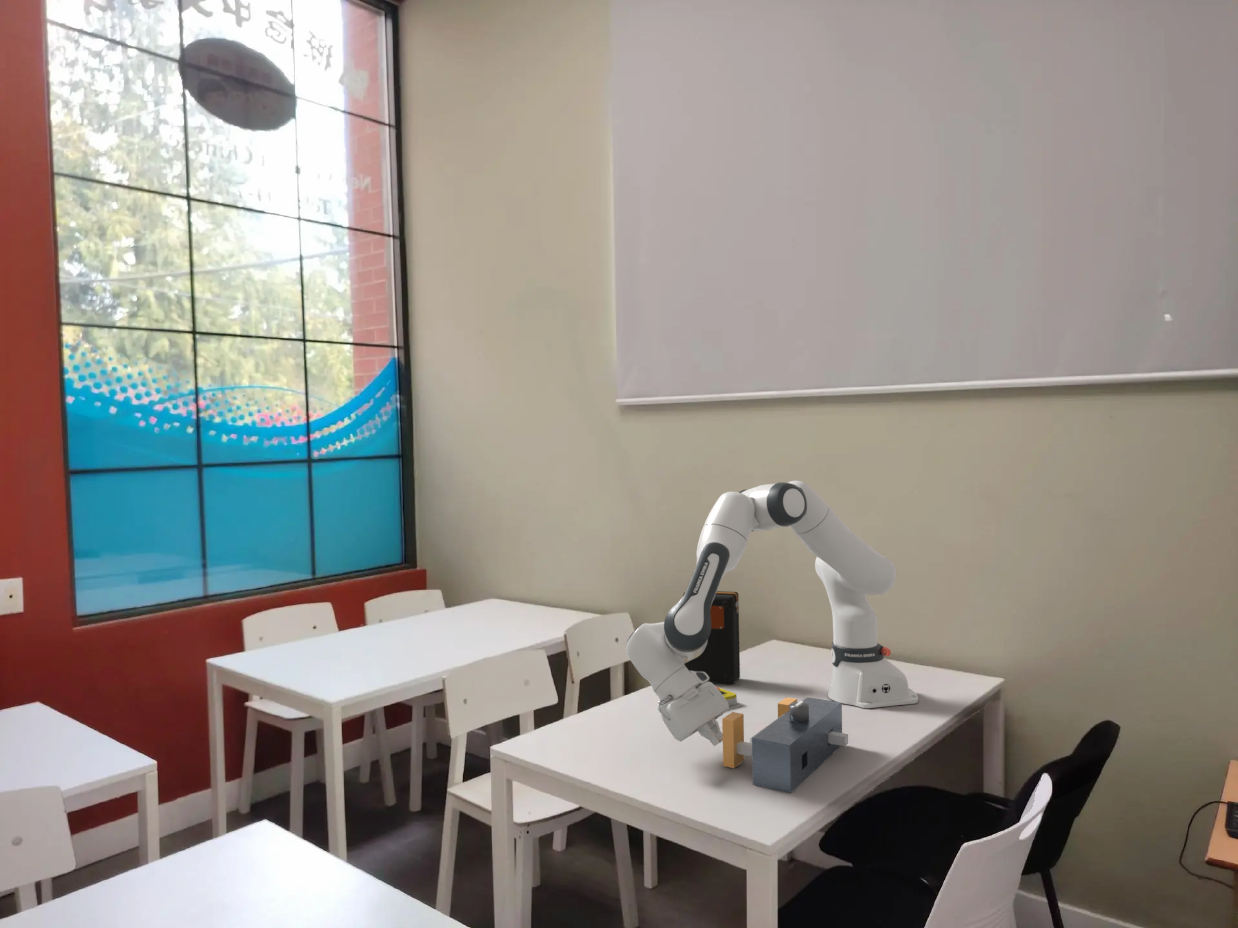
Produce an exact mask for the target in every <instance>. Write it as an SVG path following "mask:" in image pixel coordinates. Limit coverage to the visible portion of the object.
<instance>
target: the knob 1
mask: <svg viewBox="0 0 1238 928" xmlns="http://www.w3.org/2000/svg"><path fill="white" fill-rule="evenodd" d="M721 722H722V724H721V725H722V727H721V728H722V729H721V730H722V734H723V741H722V766H723V767H727V768H731V769H735V768H737V767H738V766H739V765H740V764H741V763H744V761H745V756H747V757H752V745H751V744H750V742H747V741H745V735H744V734H745V732H744V731H745V727H744V726H745V724H744V713H742V712H741V713H740V712H734V711H732V712H731V713H729V714H728V715H726V716H724V717H722V719H721Z"/></svg>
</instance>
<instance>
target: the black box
mask: <svg viewBox="0 0 1238 928" xmlns="http://www.w3.org/2000/svg"><path fill="white" fill-rule="evenodd" d="M685 592H686V591H685ZM685 592H683V595H682V597H683V596H684V594H685ZM739 604H740V603H739V593H738V592H737V591H724V590H722V591H721V590H717V592H716V594H715V597H714V600H713V602H712V605H711V610H710V615H711V632H710V636H709V638H708V641H707V645H706V648H705V650H704V651H703V653H702V654H701V655H700V656H698V657H697V658H695V659H693V660H691V661H689V662H687V663H685V664H684V665H685V666H686V668H687V669H688V670H689V671H690V670H691V671H697V672H705V673H706V674H707V675H708V676H709V680H708V681H707V682H711V683H713V684H714V683H717V684H729V685H733V684H735V683H736V681H738V680H739V679H740V678H741V662H740V659H741V658H740V655H741V653H740V610H739V608H740V607H739Z"/></svg>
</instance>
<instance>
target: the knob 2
mask: <svg viewBox="0 0 1238 928" xmlns="http://www.w3.org/2000/svg"><path fill="white" fill-rule="evenodd" d="M794 702H798V699H797V698H793V697H789V696H788V697H785V698H783V699H782V700H780V701H779V702H777V718H779V717H780V716H782V715H783V714H784V713H786V712H787V711H788V710H790V707H789V705H790V703H794ZM828 743H830V744H835V745H841V746H840V747H846V746H847V745H848V744H849V734H848V733H843V732H842V733H839V732H833V731H829V732H828Z"/></svg>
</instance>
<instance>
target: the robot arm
mask: <svg viewBox="0 0 1238 928" xmlns="http://www.w3.org/2000/svg"><path fill="white" fill-rule="evenodd" d="M783 527H785V528H786V527H789V528H790V529H791V530H792V532H793V533H794V535H796V537H797V538H798V539H799V540H800V541H801V542H802V544H803V545H804V546H805V547H806V548H807V550H808V551H809V552H810V553H811V554H812V555H814V556H815V557H816V558H815V561H814V562H815V563H814V569H815V572H816V574H817V576H818V578H820V580H821V582H822V584H823V586H824V588H825V591H826V593H827V598H828V601H829V604H830V608H831V614H832V615H831V616H832V635H833V637H832V639H833V641H832V642H831V649H830V651H831V652H830V653H831V654H830V655H831V664H832V671H831V680H830V685H829V689H828V692H827V697H828V698H829V699H830V700H831V701H835V702H842V704H845V705H852V706H856V707H859V708H862V709H872V708H873V709H874V708H883V707H894V706H900V705H903V706H904V705H912V704H913V705H914V704H917V703H918V702H919V697H918V694H917V693H916V692H915V691H914V690H913V689H911V688H910V687H909V682H908V679H907V676H906V675H905V673H904V672H903V671H902V670H901V669H900V668H899V667H897V666H896V665H895V664H893V663H892V662H890V661H889V660H888V659H886V658H885V657H890V656H891V653H892V650H891V649H890V648H889V647H887V646H883V645H882V644H881V643H878V618H877V616H878V615H877V614H876V611H875V608H873V607H872V605H871V604H870V602H869V600H868V598H867V596H868V595H870V596H873V595H883V594H886V593H888V592H889V591H891V589H892V588H893V586H894V584H895V582H896V579H897V578H896V577H897V572H896V571H897V569H896V567H895V564H894V563H893V562H892V560H891V559H889V558H888V557H886V556H885V555H884V554H883V555H882V554H881V553H879V552H878V551H877V550H876V549H874V548H873V547H872V546H871V545H870V544H868V543H867V542H866V541H865V540H864V539H863V538H861V537H860V536H859V535H858V534H856V533H855V532H854V531H852V530H851V529H850V528H849V527H848V526H847V525H846V524H845V523H844V522H843V521H842V520H841V518H840V517H839V516H838V515H837V514H836V513H835V511H834V510H833V509H832V508H831V507H830V506H829V504H828V503H827V502H826V501H825V500H824V498H823V497H822V496H821V495H820V494H819V493H817V492H816V490H814V489H813V488H812V487H811V486H809V485H808V484H806V483H805V482H804V481H802V480H790V481H788V482H782V481H781V482H777V483H768V484H767V483H766V484H760V485H758V486H755V487H751V488H749V489H743V490H741V491H726V492H724V493H722V494H721V495H720V496H719V497H718V499H717V500H716V502H715V503H714V504H713V507H712V508H711V509H710V511H709V513H708V515H707V517H706V520H705V522H704V524H703V527H702V529H701V532H700V535H699V539H698V543H697V547H696V564H695V568H694V569H693V573H692V575H691V577H690V579H689V581H688V582H689V583H688V585H687V588H686V589H685V594H684V593H683V594H684V596H683V595H682V596H681V598H680V600H678V601H677V603H676V604H674V605H673V606H672V607H671V609H670V610H669V611H668V612H667V613H666V615H665V618H664V621H661V622H655V623H647V622H645V623H642V624H640V625H638V626H637V627H636V629H634V631H633V632H632V633H631V634H630V636H629V637H628V639H627V641H626V644H625V652H626V655H627V656H628V658H629V660H630V662H631V663H632V664H633V666H634V668H635V669H636V670H637V672H638V673H639V674H640V676H642V678H644V679H645V680H646V681H647V682H649V684H650V686H651V688H652V690H653V692H654V694H655V695H656V696H657V697H658V699H659V701H658V702H657V703H658V704H657V706H658V708H657V709H658V712H659V713H660V717H661V719H662V721H663V723H664V724H665V726H666V728H667V729H668V731H669V732H670V734H671V735H672V737H673V738H674V739H675V740H677V741H679V742H683V741H684V740H686V739H687V738H689V737H691V736H693V734H695V733H697V732H698V734H699V735H700V736H701V737H702V738H704V739H707V740H708V741H709V742H710V743H711V744H712V746H713V747H716V746H717V745H719V744H721V742H722V743H723V731H721V727H720V724H719V722H718V720H717V719H718V718H720V717H721V716H723V715H724V714H726V712H727V711H729V710H730V709H729V705H728V702H727V700H726V699H725V697H724V696H723V695H722V694H721V692H720V691H719V690H718V689H717V687H718V686H716V685H715V684H714V683H713V682H707V681H708V680H709V676H708V675H707V674H706V673H705V672H697V671H691V670H690V671H689V670H688V669H687V668H686V666H685V665H684V664H685V663H687V662H689V661H691V660H693V659H695V658H697V657H698V656H700V655H701V654H702V653H703V651H704V650H705V648H706V645H707V641H708V638H709V636H710V632H711V615H710V610H711V605H712V602H713V600H714V597H715V594H716V592H717V591H718V588H719V586H720V583H721V582H722V579H723V577H724V576H725V574H726V573H729V572H731V571H733V570H735V568H736V567H737V566H738V564H739V562H740V561H741V559H742V558H743V555H744V553H745V551H746V549H747V546H748V543H749V541H750V536H751V535H752V534H751V533H752V532H755V531H756V532H761V531H762V532H763V531H772V530H775V529H779V528H783ZM728 709H729V710H728Z"/></svg>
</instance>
